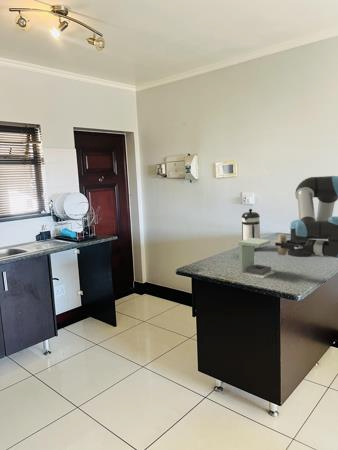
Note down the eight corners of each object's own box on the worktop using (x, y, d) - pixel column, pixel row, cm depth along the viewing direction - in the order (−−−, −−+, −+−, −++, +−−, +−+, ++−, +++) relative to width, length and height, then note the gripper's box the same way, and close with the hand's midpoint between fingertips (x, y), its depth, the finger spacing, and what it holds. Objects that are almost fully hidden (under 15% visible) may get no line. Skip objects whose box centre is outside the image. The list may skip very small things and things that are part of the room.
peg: (285, 253, 186) (285, 233, 184) (286, 255, 182) (286, 234, 180) (278, 253, 187) (278, 233, 185) (278, 255, 183) (278, 234, 181)
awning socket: (274, 272, 194) (274, 240, 192) (262, 278, 185) (262, 244, 183) (251, 268, 205) (251, 237, 202) (239, 273, 196) (238, 241, 193)
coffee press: (265, 251, 245) (265, 209, 240) (242, 252, 245) (242, 210, 240) (259, 245, 262) (259, 206, 257) (238, 246, 262) (237, 207, 257)
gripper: (308, 258, 165) (264, 252, 182) (322, 251, 177) (280, 246, 194) (308, 242, 164) (264, 238, 181) (322, 237, 176) (280, 233, 193)
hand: (272, 242), depth 187 cm, fingers closed on peg, 4 cm apart
